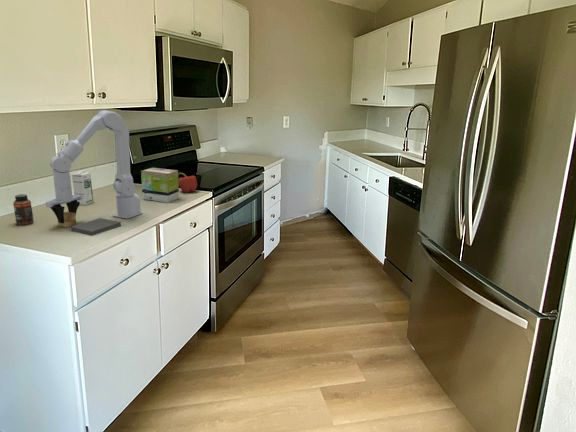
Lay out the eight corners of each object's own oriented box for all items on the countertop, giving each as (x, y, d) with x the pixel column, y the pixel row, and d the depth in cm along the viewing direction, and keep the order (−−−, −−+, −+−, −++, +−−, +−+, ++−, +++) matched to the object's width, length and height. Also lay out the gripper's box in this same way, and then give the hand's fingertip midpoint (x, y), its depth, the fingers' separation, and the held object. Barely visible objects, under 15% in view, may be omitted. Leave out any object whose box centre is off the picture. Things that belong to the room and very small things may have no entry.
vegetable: (173, 192, 225) (172, 174, 223) (183, 188, 235) (183, 170, 232) (191, 194, 222) (190, 175, 219) (201, 190, 232) (200, 172, 229)
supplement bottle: (37, 221, 170) (33, 193, 167) (28, 225, 164) (24, 197, 161) (21, 220, 170) (17, 193, 167) (12, 225, 164) (8, 196, 161)
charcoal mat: (100, 221, 173) (100, 217, 172) (120, 225, 168) (120, 222, 168) (71, 230, 161) (70, 226, 160) (92, 235, 156) (91, 231, 156)
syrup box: (85, 205, 195) (82, 174, 191) (74, 204, 196) (71, 173, 192) (93, 202, 201) (90, 172, 197) (82, 201, 202) (79, 171, 198)
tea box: (141, 199, 208) (140, 170, 204) (153, 195, 218) (152, 167, 214) (168, 203, 204) (167, 172, 200) (179, 198, 214) (178, 169, 209)
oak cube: (68, 222, 170) (67, 211, 169) (76, 223, 168) (75, 213, 167) (58, 225, 166) (57, 214, 165) (66, 226, 165) (65, 215, 163)
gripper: (72, 182, 171) (75, 215, 175) (38, 189, 158) (43, 224, 162) (84, 185, 168) (87, 217, 172) (51, 191, 156) (55, 227, 159)
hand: (67, 221), depth 167 cm, fingers closed on oak cube, 4 cm apart
